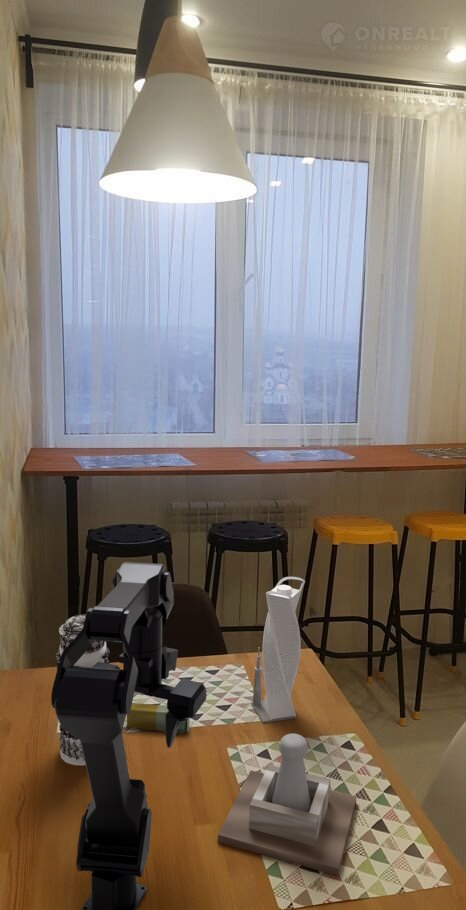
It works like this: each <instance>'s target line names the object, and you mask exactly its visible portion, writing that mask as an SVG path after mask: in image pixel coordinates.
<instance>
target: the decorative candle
mask: <svg viewBox="0 0 466 910" xmlns="http://www.w3.org/2000/svg"><path fill="white" fill-rule="evenodd" d="M86 614H87V613H86ZM86 614H85V613H84V614H77V615H73V616H71V617H70V618H68V619H66V621H65V623H63V624H61V625H60V627H59V628H58V632H59V635H60V645H59V649H58V651H57V653H55V657H56V670H57V669H58V665H59V661H60V657H61V654H62V652H63V651H64V650H65V649H66V647H67V646H68V645H69V644H70V643H71V642H72V641H73V640H74V638H75V637H76V636H77V635H78V634H79V633H80V632H81V631H82V629H83V625H84V621H85V617H86ZM110 654H111V652H110V649H109V647H107V641H93V643H92V645H91V646H90V647H89V648H88V650H87V651H86V652H85V653H84V654H83V655H82V657H81V658H80V659H79V660H78V661H77V662H76V663H75V665H74V666H80V667H93V666H94V665H95V664H96V663H97V662H103V663H108V664H111V663H110V661H109V659H108V657H109V656H110ZM59 731H60V733H59V736H58V737H59V749H60V750H59V754H60V758H61V760H62V761H64V762H65V763H66V764H69V765H72V766H83V767H84V766H86V764H85V760H84V756H83V751H82V747H81V742H80V740H79V739H78V738H76V737H75V736H73V735H72V734H70V733H68V732H67V731H65V730H64V729H63V728H62V727H61V725H60V724H59Z"/></svg>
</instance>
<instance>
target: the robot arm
mask: <svg viewBox="0 0 466 910" xmlns="http://www.w3.org/2000/svg"><path fill="white" fill-rule="evenodd" d="M166 568H167V565H165V564H164V563H149V562H135V561H134V562H132V561H124V562H123V563H122V564H121V565H120V567H119V568H118V569H117V570H116V571H115V575H113V578H112V586H113V589H112V590H111V591H110V592H109V593H108V594H107V595H106V596H105V597H104V598H103V599H102V600H101V601H100V602H99V604H97V605H95V606H94V607H88V610H87V611H86V617H85V621H84V625H83V629H82V631H81V632H80V633H79V634H78V635H77V636H76V637H75V638H74V640H73V641H72V642H71V643H70V644H69V645H68V646H67V647H66V649H65V650H64V651H63V652H62V654H61V657H60V661H59V665H58V669H57V668H56V673H55V677H54V682H53V685H52V690H51V698H50V699H51V700H50V701H51V702H50V703H51V706H52V708H53V709H54V711H55V712H54V713H55V715H56V718H57V720H58V722H59V726H60V725H61V727H62V728H63V729H64V730H65V731H67V732H68V733H70V734H72V735H73V736H75V737H76V738H78V739H79V740H80V742H81V747H82V751H83V756H84V760H85V764H86V765H85V768H86V771H87V777H88V781H89V786H90V790H91V794H92V796H91V800H90V803H89V804H88V805H87V807H86V809H85V812H84V814H83V815H82V816H81V820H80V821H81V822H80V827H79V832H78V833H79V835H78V841H77V850H76V851H77V853H76V854H77V855H76V861H75V863H76V864H75V865H76V869H77V872H91V875H90V877H91V879H90V880H91V881H90V882H91V883H90V884H91V885H90V887H91V892H90V895H89V896H88V898H87V899H86V900H85V902H84V904H83V905H82V907H81V910H137V909H138V906H139V905H140V903H141V901H142V900H143V898H144V896H145V895H146V893H147V886H145V885H143V884H140V883H137V878H143V874H144V870H145V867H146V865H147V864H146V863H147V859H148V856H149V853H150V845H151V843H150V842H151V831H152V829H151V828H152V818H153V817H152V815H153V814H152V813H153V812H152V809H151V808H148V807H149V806H148V801H147V798H148V794H146V783H145V782H144V781H143V780H142V779H134V778H130V774H129V767H128V761H127V756H126V749H125V743H124V738H123V729H124V725H125V722H126V719H127V714H129V712H130V710H131V706H132V703H133V700H134V697H135V696H134V695H135V694H136V695H141V696H149V697H153V698H157V699H163V700H166V706H167V709H168V710H169V711H168V713H167V714H166V715H165V722H166V731H165V743H166V747H167V748H169V749H170V748H171V747H172V746H173V743H174V741H175V739H176V736H177V733H178V732H177V731H178V728H179V726H180V723H181V721H185V720H186V718H190V719H191V718H194V717H195V715H196V714H198V711H199V710H200V709H201V707H202V706H203V705H204V703H205V702H206V701H207V687H206V686H205V685H204V683H203V682H199V681H195V680H189V679H184V678H181V679H180V680H179V681H178V682H177V684H176V685H175V686H173V685H170V684H169V685H168V684H163V683H162V681H163V680H167V679H168V677H170V671H173V672H175V671H176V668H177V661H178V656H179V655H178V654H179V649H175V648H170V647H166V645H165V644H163V627H164V626H165V624H166V622H167V619H168V617H169V615H170V613H171V611H172V608H173V606H174V603H175V602H174V601H175V599H174V596H175V593H174V587H173V582H172V577H171V573H170V571H166ZM93 641H105V642H108V643H109V642H111V643H122V644H123V645H122V646H123V648H122V650H123V652H122V653H121V654H119V656H118V663H120V664H123V665H122V668H123V669H121V668H120V666H118V665H116V664H114V663H113V664H112V663H110V664H108V663H103V662H97V663H96V664H95V665H94V666H93V667H80V666H74V665H75V663H76V662H77V661H78V660H79V659H80V658H81V657H82V655H83V654H84V653H85V652H86V651H87V650H88V648H89V647H90V646H91V645H92V643H93Z"/></svg>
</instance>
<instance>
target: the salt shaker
mask: <svg viewBox="0 0 466 910" xmlns="http://www.w3.org/2000/svg"><path fill="white" fill-rule="evenodd" d="M308 743H309V742H308V741H307V739H306V738H305V737H303V736H302V735H301V734H298V733H288V734H285V735H284V736H283V737H281V739H280V742H279V752H280V754H281V757H282V758H281V761H280V766H279V767H280V769H279V774H278V778H277V782H276V786H275V790H274V795H273V799H272V803H273V804H277V805H281V806H285V807H289V808H292V809H296V810H300V811H304V812H308V810H309V805H310V798H309V791H308V785H307V779H306V774H307V773H306V766H305V761H304V758H305V757H306V756H307V755H308V749H309V745H308Z"/></svg>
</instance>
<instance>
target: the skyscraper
mask: <svg viewBox="0 0 466 910" xmlns="http://www.w3.org/2000/svg"><path fill="white" fill-rule="evenodd" d="M288 580H298V581H301V582H302V583H301V585H300V587H299V589H296V588H294V587H293V588H292V586H290V585H287V584H282V583H283V582H284V581H288ZM305 583H306V580H305V579H303V578H302V577H299V576H285V577H283V578H281V579H280V580H279V581H278V582H277V583H276V585H275V586H274V588H272V589H271V590H270V591H266V592H265V598H266V604H267V605H266V606H267V609H268V612H267V615H266V619H265V624H264V629H263V638H262V653H261V654H260V652H261V651H260V650H261V647H258V648H257V655H256V666H254V683H253V688H252V690H253V692H252V693H253V697H252V702H251V703H250V706H251V707H252V708H253V710H254V712H255V713H256V715H257V716H258V717H259V720H260V722H261V723H262V724H267V723H273V722H274V723H275V722H280V721H285V720H286V721H287V720H292V719H296V718H297V714H296V711H295V707H294V705H293V702H292V697H291V695H292V690H293V687H294V684H295V681H296V677H297V674H298V669H299V664H300V660H301V659H300V657H301V633H300V625H299V621H298V618H297V614H296V613H297V612H296V611H297V606H298V604H299V600H300V597H301V594H302V590H303V588H304V586H305ZM261 655H262V656H261ZM261 657H262V667H261ZM262 673H263V682H264V683H263V684H264V691H265V695H264V698H263V700H262Z"/></svg>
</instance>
